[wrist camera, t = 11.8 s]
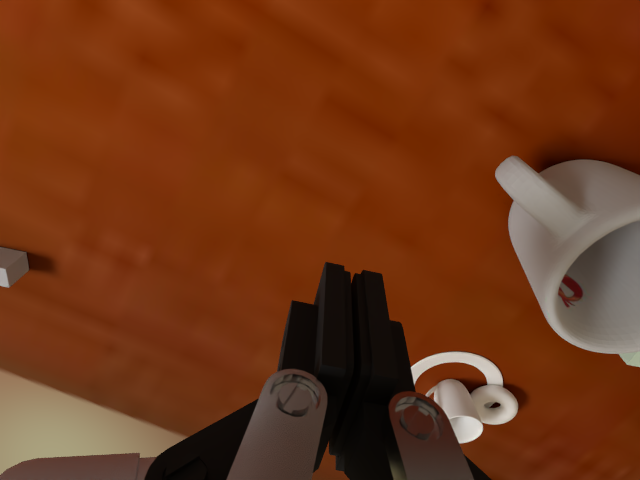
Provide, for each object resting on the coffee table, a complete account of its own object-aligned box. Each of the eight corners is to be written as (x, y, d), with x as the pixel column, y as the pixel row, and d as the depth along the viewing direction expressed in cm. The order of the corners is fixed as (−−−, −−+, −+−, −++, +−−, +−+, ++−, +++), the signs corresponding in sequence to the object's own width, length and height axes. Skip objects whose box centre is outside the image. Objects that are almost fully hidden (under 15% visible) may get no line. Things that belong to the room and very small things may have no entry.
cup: (427, 192, 24) (461, 269, 18) (537, 76, 21) (632, 116, 14) (549, 283, 27) (619, 380, 20) (663, 194, 24) (794, 275, 17)
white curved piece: (526, 390, 33) (548, 436, 30) (445, 432, 36) (457, 479, 33) (459, 330, 30) (475, 374, 27) (378, 381, 33) (382, 427, 30)
